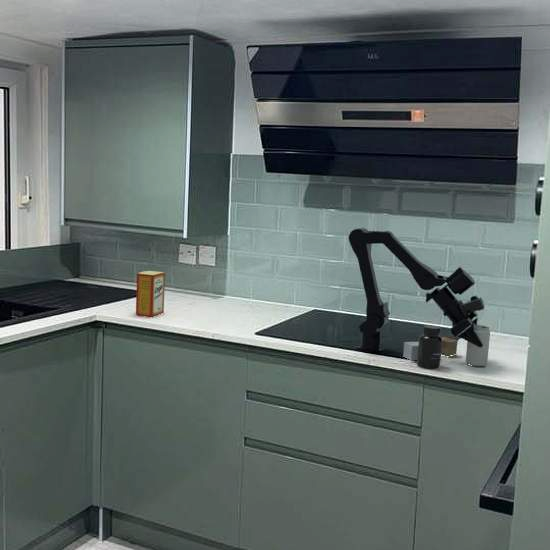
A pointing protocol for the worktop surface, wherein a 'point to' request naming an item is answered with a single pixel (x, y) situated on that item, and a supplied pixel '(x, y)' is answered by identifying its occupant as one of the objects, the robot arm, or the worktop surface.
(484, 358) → the beverage can
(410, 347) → the grey plastic block
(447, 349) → the walnut block
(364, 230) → the robot arm
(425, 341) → the supplement bottle
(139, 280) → the baking soda box
